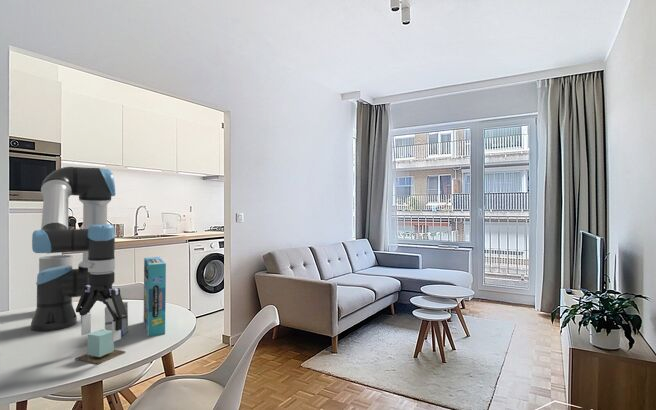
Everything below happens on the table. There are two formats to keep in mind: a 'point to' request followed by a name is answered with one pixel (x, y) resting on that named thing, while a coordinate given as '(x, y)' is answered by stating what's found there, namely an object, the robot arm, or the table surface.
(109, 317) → the ink box
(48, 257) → the cylinder vase
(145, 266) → the game box
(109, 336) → the mint foam cube
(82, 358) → the brown peg stand
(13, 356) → the table surface
